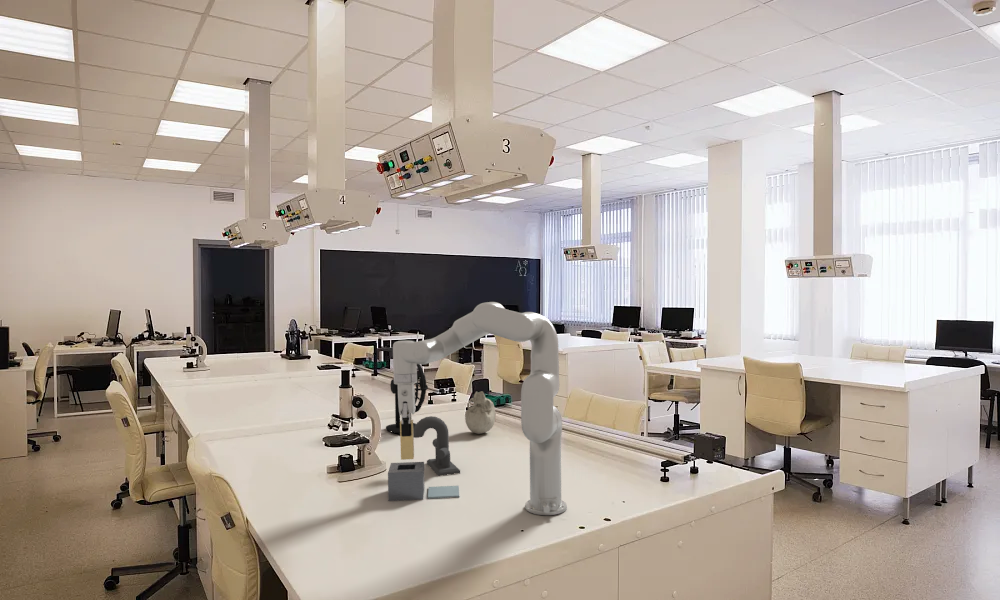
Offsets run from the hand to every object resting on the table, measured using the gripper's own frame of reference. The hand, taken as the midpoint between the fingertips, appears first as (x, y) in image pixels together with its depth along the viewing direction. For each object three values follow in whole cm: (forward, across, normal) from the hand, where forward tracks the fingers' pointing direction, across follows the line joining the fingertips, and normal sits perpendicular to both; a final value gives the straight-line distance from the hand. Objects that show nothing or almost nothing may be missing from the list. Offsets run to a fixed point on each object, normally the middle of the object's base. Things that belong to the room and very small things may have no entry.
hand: (407, 433), depth 196 cm
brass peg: (+8, 0, 0) cm, 8 cm away
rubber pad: (+20, 0, -11) cm, 23 cm away
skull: (+20, +82, -28) cm, 89 cm away
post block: (+20, 0, +1) cm, 20 cm away
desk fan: (+20, +93, +7) cm, 95 cm away
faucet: (+20, +27, -7) cm, 35 cm away
